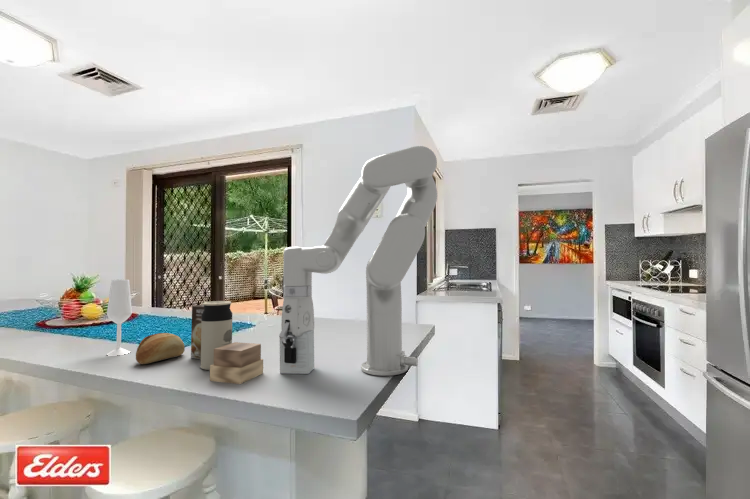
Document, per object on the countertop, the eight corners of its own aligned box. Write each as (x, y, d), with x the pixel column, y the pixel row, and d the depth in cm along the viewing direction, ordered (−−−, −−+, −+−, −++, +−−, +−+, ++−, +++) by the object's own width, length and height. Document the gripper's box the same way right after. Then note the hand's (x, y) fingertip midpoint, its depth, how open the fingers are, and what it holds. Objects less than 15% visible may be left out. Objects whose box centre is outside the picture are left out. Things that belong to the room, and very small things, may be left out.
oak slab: (263, 374, 93) (263, 359, 93) (240, 385, 85) (240, 368, 85) (234, 371, 96) (234, 356, 96) (209, 381, 87) (210, 365, 88)
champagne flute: (125, 355, 113) (127, 280, 114) (101, 356, 111) (103, 280, 113) (134, 350, 119) (136, 279, 120) (112, 351, 118) (114, 279, 119)
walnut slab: (260, 359, 93) (260, 343, 93) (240, 367, 85) (241, 351, 86) (235, 357, 95) (235, 342, 96) (213, 365, 88) (213, 348, 88)
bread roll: (124, 366, 101) (125, 337, 102) (167, 353, 116) (168, 328, 116) (150, 368, 99) (151, 339, 99) (192, 355, 113) (192, 330, 114)
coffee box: (189, 358, 109) (190, 305, 109) (205, 353, 115) (206, 303, 116) (213, 360, 106) (214, 306, 106) (228, 355, 112) (229, 304, 113)
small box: (314, 368, 97) (314, 329, 98) (308, 374, 92) (309, 333, 92) (286, 367, 98) (286, 329, 99) (279, 373, 93) (279, 333, 93)
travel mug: (194, 368, 98) (195, 303, 99) (218, 361, 105) (218, 300, 106) (214, 372, 94) (215, 304, 95) (237, 364, 101) (238, 301, 102)
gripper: (292, 295, 87) (292, 369, 86) (324, 290, 103) (324, 352, 102) (266, 294, 89) (266, 367, 88) (301, 290, 105) (301, 351, 105)
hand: (297, 358), depth 95 cm, fingers closed on small box, 6 cm apart
